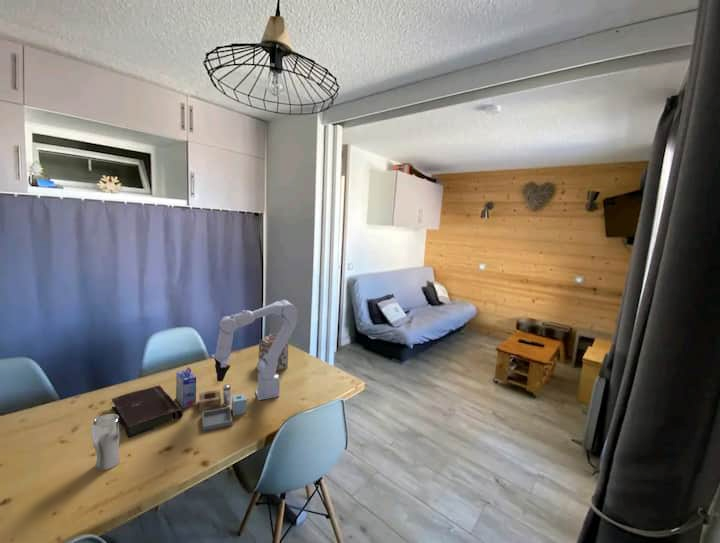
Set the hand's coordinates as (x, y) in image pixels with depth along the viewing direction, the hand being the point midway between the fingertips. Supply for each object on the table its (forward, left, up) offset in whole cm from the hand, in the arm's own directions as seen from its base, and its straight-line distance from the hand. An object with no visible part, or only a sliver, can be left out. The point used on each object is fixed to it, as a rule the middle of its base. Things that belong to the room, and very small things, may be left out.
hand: (219, 376), depth 135 cm
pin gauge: (-3, 0, -13) cm, 13 cm away
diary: (+27, -3, -13) cm, 30 cm away
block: (-7, +8, -13) cm, 16 cm away
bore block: (+3, -1, -13) cm, 13 cm away
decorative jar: (-29, -28, -13) cm, 42 cm away
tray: (+1, +12, -13) cm, 17 cm away
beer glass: (+33, +23, -13) cm, 42 cm away
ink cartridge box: (+12, -7, -13) cm, 19 cm away
